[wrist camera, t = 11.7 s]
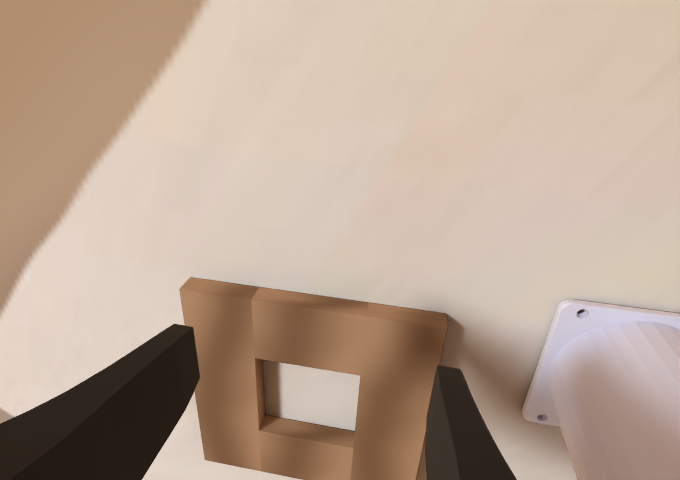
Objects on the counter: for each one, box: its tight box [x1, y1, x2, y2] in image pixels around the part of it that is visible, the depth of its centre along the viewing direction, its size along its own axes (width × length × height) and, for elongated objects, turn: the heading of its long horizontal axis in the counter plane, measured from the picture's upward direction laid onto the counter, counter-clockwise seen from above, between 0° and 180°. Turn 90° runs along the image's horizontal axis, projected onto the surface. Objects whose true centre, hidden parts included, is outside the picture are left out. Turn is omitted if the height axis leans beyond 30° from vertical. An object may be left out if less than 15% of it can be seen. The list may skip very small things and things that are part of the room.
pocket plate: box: [179, 277, 447, 480], centre depth 25 cm, size 14×14×1 cm
